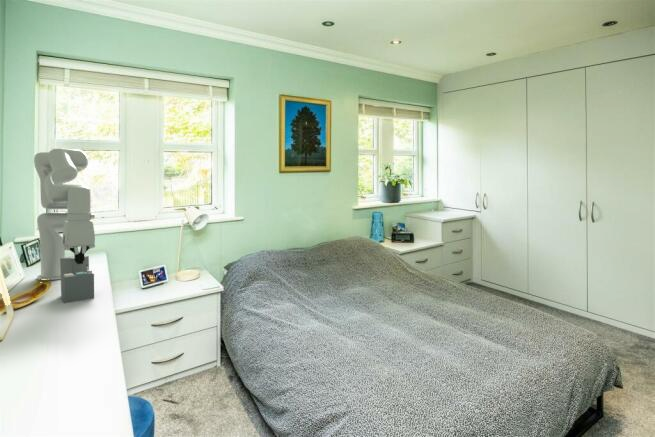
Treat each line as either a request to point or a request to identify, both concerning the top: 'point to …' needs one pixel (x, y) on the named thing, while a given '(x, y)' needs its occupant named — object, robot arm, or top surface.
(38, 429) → the top surface
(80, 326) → the top surface
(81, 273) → the teal button
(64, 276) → the cream button
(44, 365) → the top surface
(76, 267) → the skincare box
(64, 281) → the panel
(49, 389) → the top surface
